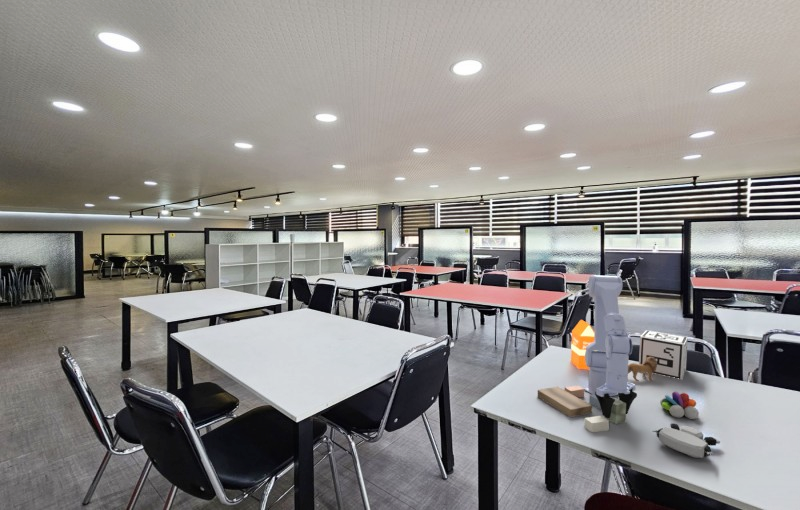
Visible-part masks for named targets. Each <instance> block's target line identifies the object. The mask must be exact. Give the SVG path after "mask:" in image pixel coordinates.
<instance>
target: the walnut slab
mask: <svg viewBox="0 0 800 510" xmlns="http://www.w3.org/2000/svg"><path fill="white" fill-rule="evenodd" d="M537 397H538V399H540V400H542V401H544V402H546V403H547V404H549V405H550V406H552V407H554V409H557V410H558V411H560V412H561V413H563V414H565V415H566V416H567V417H570V418H574V417H577V416H578V417H579V416H583V415H587V414H589V415H590V414H592V413H593V412H592V411H593V405H592V404H590V403H589V402H587V401H585V400H583V399H581V398H580V397H578V398H577V397H576V396H574V395H572V394H570V393H568V392H566V391H565V389H563V388H560V387H559V386H553V387H548V388H541V389H537Z"/></svg>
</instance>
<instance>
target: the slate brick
mask: <svg viewBox="0 0 800 510" xmlns="http://www.w3.org/2000/svg"><path fill="white" fill-rule="evenodd" d="M588 399H589V402H588V404H590V405H592V406H594V407H596V408H597V409H599V410H601V407H600V403H599V401H598V399H597V397H596V395H595V394H589V398H588Z"/></svg>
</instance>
